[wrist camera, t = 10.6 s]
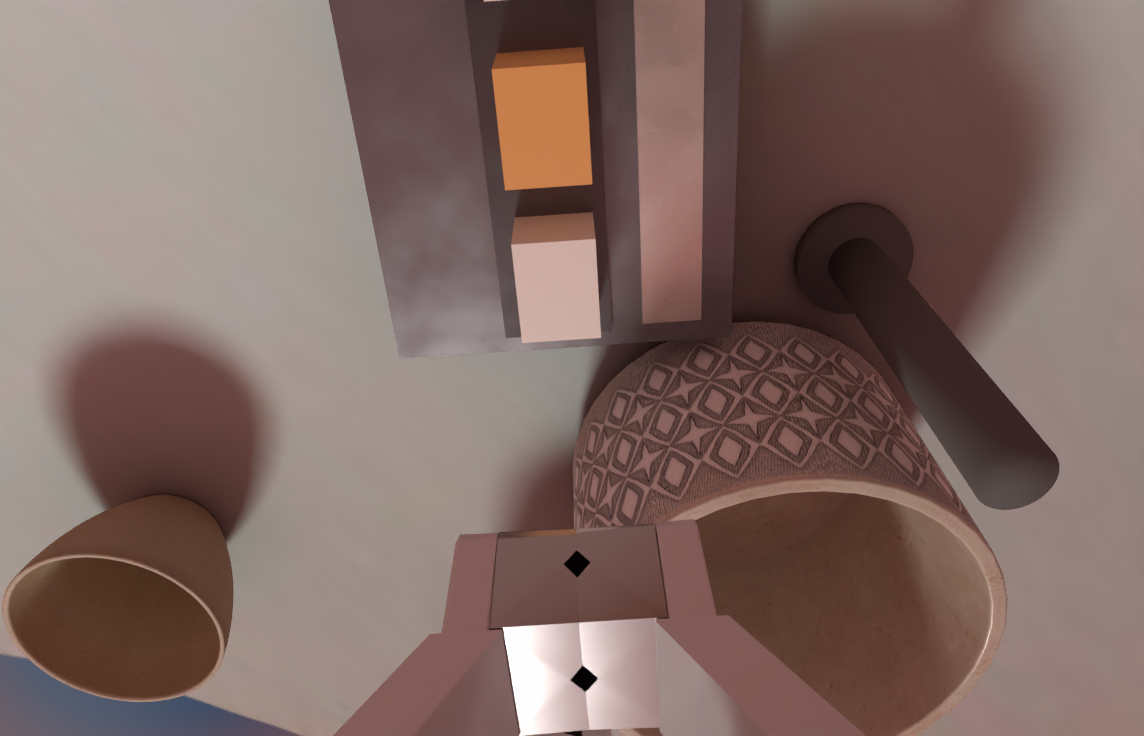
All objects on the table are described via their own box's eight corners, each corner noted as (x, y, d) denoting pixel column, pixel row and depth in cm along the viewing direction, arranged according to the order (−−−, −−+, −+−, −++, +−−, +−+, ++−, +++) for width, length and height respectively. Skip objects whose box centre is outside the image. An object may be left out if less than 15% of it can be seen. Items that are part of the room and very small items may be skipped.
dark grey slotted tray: (727, -236, 29) (752, -252, 25) (715, 295, 39) (732, 339, 35) (318, -204, 29) (284, -214, 25) (413, 315, 39) (398, 362, 36)
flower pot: (51, 457, 43) (-34, 556, 37) (247, 454, 43) (196, 552, 37) (108, 599, 48) (42, 706, 42) (283, 595, 48) (243, 702, 42)
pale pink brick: (592, 211, 32) (595, 238, 30) (598, 304, 34) (601, 337, 32) (514, 216, 32) (511, 244, 30) (524, 309, 34) (522, 342, 32)
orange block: (583, 46, 29) (585, 62, 27) (589, 159, 31) (592, 184, 29) (496, 52, 29) (491, 69, 27) (508, 165, 31) (504, 190, 29)
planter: (530, 527, 46) (522, 733, 35) (642, 263, 38) (676, 423, 27) (801, 596, 49) (871, 806, 38) (956, 365, 41) (1100, 545, 30)
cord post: (914, 198, 37) (1127, 398, 23) (899, 302, 39) (1083, 538, 25) (798, 206, 37) (941, 410, 23) (790, 309, 39) (915, 547, 26)
